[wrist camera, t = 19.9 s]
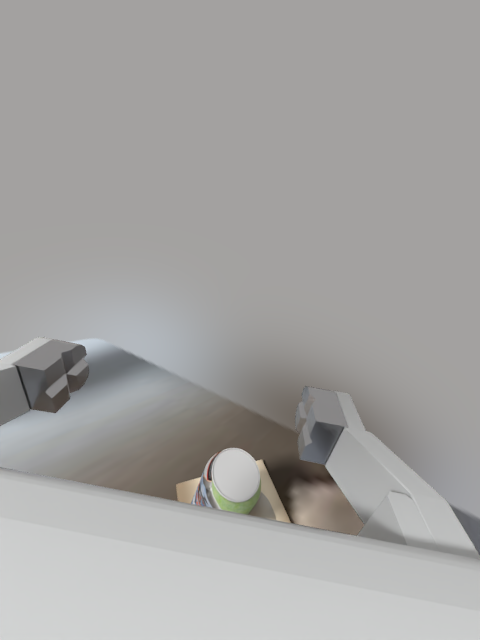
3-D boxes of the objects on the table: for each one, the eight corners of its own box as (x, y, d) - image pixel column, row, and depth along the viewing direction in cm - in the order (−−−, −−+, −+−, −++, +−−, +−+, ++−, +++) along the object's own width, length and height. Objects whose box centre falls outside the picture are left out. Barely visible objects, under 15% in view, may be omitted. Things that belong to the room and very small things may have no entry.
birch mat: (196, 630, 23) (196, 628, 22) (176, 486, 33) (176, 484, 33) (309, 569, 28) (311, 567, 27) (261, 461, 38) (261, 459, 38)
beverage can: (205, 484, 33) (214, 424, 28) (254, 516, 31) (274, 456, 26) (175, 533, 28) (179, 471, 23) (230, 576, 26) (250, 517, 20)
